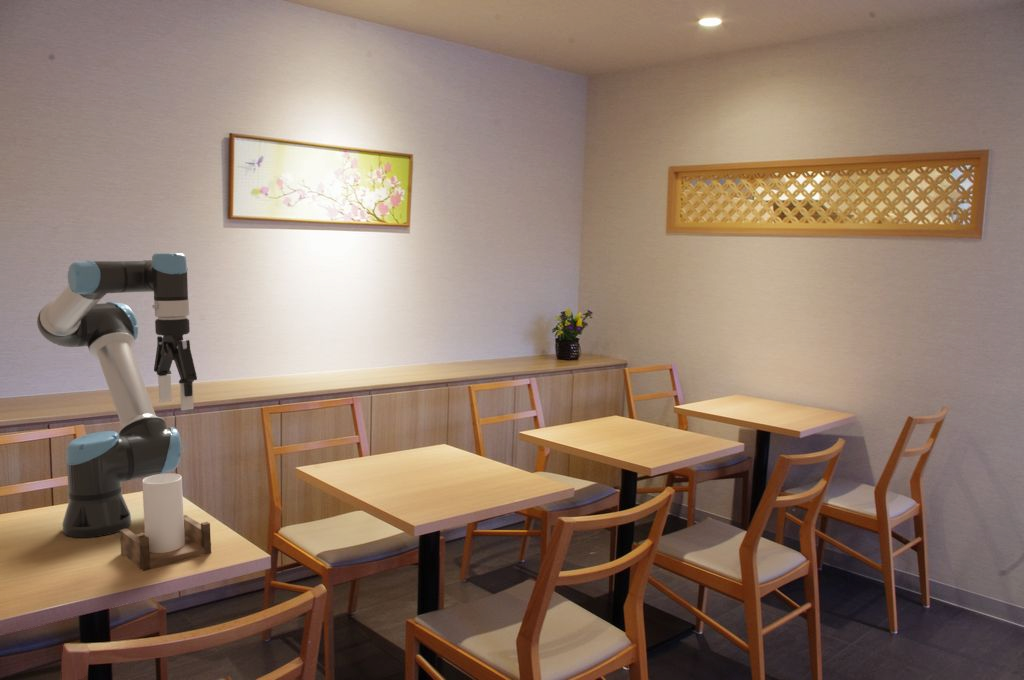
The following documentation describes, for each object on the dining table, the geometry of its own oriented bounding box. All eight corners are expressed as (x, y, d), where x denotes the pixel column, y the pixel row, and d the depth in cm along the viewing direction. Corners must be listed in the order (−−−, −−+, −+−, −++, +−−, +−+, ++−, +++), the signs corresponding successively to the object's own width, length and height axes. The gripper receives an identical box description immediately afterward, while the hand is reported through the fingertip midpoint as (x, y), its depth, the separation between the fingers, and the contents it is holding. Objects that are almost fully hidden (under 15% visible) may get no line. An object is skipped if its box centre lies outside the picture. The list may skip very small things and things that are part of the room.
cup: (160, 555, 177) (157, 486, 175) (138, 548, 181) (134, 480, 179) (192, 544, 184) (189, 476, 182) (170, 537, 188) (166, 471, 186)
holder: (121, 553, 182) (119, 523, 181) (186, 536, 192) (185, 508, 192) (143, 570, 172) (141, 539, 171) (211, 552, 182) (209, 523, 182)
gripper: (137, 315, 196) (141, 400, 198) (176, 322, 178) (180, 415, 180) (168, 313, 201) (172, 396, 204) (209, 320, 183) (213, 410, 186)
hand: (176, 405), depth 192 cm, fingers open, 13 cm apart
